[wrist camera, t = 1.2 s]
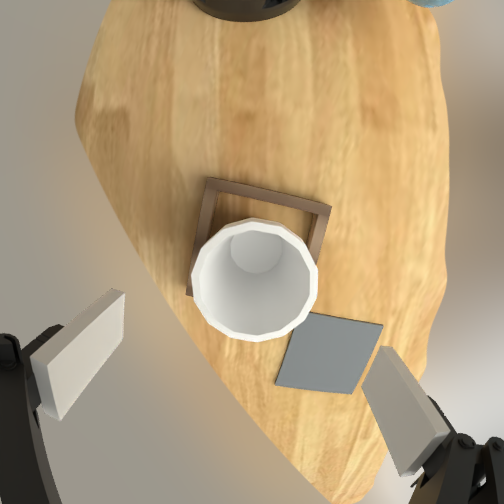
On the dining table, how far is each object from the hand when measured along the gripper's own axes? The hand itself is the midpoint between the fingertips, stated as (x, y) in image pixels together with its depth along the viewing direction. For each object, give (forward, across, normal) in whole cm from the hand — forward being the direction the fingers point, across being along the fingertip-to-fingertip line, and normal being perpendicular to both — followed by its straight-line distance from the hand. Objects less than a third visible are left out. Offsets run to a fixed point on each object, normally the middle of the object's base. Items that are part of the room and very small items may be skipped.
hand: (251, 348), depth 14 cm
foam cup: (+21, 0, 0) cm, 21 cm away
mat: (+21, +13, -12) cm, 28 cm away
